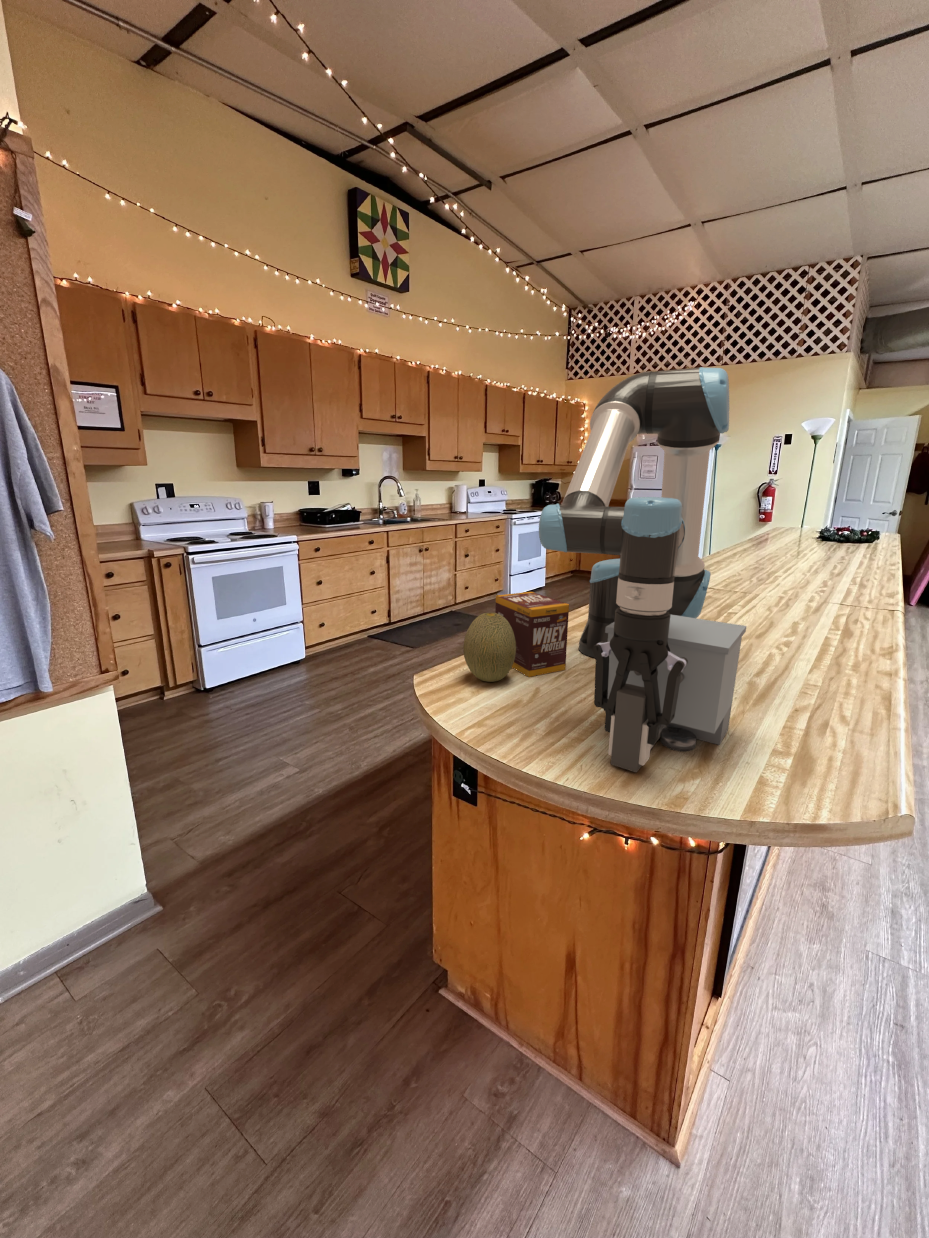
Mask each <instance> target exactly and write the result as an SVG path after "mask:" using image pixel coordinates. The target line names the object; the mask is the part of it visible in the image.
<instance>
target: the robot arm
mask: <svg viewBox="0 0 929 1238" xmlns="http://www.w3.org/2000/svg"><path fill="white" fill-rule="evenodd" d="M589 429H590V433H589V435H588V438H587V441H586V443H585V446H584V448H583V451H582V452H581V455H580V458H579V460H578V463H577V465H576V467H575V470H574V473H573V475H572V478H571V481H570V482H569V485H568V488H567V490H566V492H565V495H564V497H563V500H562V502H561V504H559V503H556V504H548V505H546V506H545V507H543V509H542V510H541V513H540V517H539V520H538V521H539V523H538V536H539V541H540V544H541V546H542V547H543V548H544V549H545V550H549V551H550V550H551V551H556V552H563V553H579V554H581V553H583V554H599V555H612V556H619V558H613V559H612V558H610V559H606V560H605V559H604V560H602V561H601V560H600V561H599V562H596V563H595V564H593V566H592V567H591V574H590V579H589V584H590V585H589V598H588V616H587V621H586V624H585V626H584V629H583V630H582V633H581V635H580V638H579V642H578V650H579V651H580V652H581V653H582V654H583V655H585V656H588V657H591V658H594V659H595V670H594V672H595V673H594V693H593V694H594V696H593V704H594V706H595V707H596V708H599V709H602V710H603V711H604V712H605V718H604V731H605V732H606V733H609V740H608V741H609V742H608V754H607V755H609V756H611V754H612V743H613V731H614V720H615V709H616V697H617V691H618V690H620V689H621V688H622V687H624V686H625V684H626V681H627V678H628V675H629V672H630V671H637V672H639V673H641V674H642V680H643V682H644V690H645V696H646V707H647V716H648V719H647V720H646V721H645V722H644V723H643V726H642V735H641V745H640V755H639V764H640V765H642V766H644V765H646V763H647V762H648V761H649V759H650V758H651V757H650V756H651V749H652V748H651V745H654V746H655V744H656V743H657V741H659V739H658V737H659V728H660V725H661V724H663V725H669V724H670V722H671V721H672V720H673V719H674V717H675V711H676V704H677V698H678V692H679V686H680V680H681V673H682V671H683V670H684V668H685V667H686V665H687V663H688V660H687V659H686V658H685V657H682V658H679V657H677V656H676V655H674V654H672V653H671V652H670V648H669V645H668V634H669V625H670V616H671V615H677V616H684V617H690V618H697V619H698V617H699V616H701V613H702V610H703V607H704V604H705V600H706V596H707V593H708V588H709V584H710V579H711V571H710V570H708V569H705V566H706V565H705V562H704V560H703V559H702V558H701V557H699V553H700V543H701V534H702V525H703V515H704V506H705V497H706V489H707V481H708V479H707V477H708V471H709V470H708V469H709V460H710V453H711V450H712V449H713V448H714V447H715V446H716V445H717V444H718V443H719V442H720V440H721V439H720V438H721V434H722V435H723V434H725V433H727V432H728V431H729V429H730V383H729V374H728V372H727V371H726V370H725V369H724V368H722V367H702V366H700V367H691V368H679V369H677V368H676V369H668V370H659V371H657V370H656V371H652V370H650V371H649V370H648V371H643V372H638V373H636V374H632V375H631V376H628V377H627V378H625V379H623V380H621V381H620V382H618V383H617V384H615V385H614V386H613V387H612V388H611V389H609V391H607V393H605V395H604V396H602V398H601V399H600V400H599V402H598V403H597V405H596V406H595V408H594V410H593V412H592V414H591V417H590V420H589ZM642 434H644V435H645V434H648V435H649V434H650V435H657V442H656V443H657V446H658V447H660V448H661V450H663V451H664V453H663V454H664V455H663V469H662V481H661V483H662V484H661V495H660V497H656V496H655V497H654V496H653V497H652V496H647V497H646V496H640V497H639V496H638V497H631V498H629V499H628V500H626V501H625V504H624V506H609V505H610V501H611V500H612V496H613V493H614V490H615V487H616V484H617V481H618V477H619V474H620V472H621V468H622V465H623V462H624V459H625V457H626V453H627V450H628V447H629V444H630V443H631V442H632V441H634V439H635V438H636V437H637V436H638V435H642ZM613 622H614V635H613V637H612V639H611V640H610V642H608V633H605V628H606V626H608V625H610V624H611V623H613ZM611 649H612V651H613V653H614V655H615V656H616V658H617V660H618V662H619V663H618V666H617V669H616V676H615V679H614V682H613V685H612V688H611V692H610V695H609V698H608V678H609V655H610V654H611ZM664 660H666V661H667V663H668V665H667V668H668V670H670V673H669V675H668V679H667V685H666V692H665V698H664V705H663V711H662V713H661V707H660V698H659V689H658V680H657V675H658V669H657V667H658V666H659V665H660V664H661V663H662V662H663V661H664ZM650 748H651V749H650Z"/></svg>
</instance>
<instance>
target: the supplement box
mask: <svg viewBox="0 0 929 1238" xmlns="http://www.w3.org/2000/svg"><path fill="white" fill-rule="evenodd" d="M569 612H570V603H566V602H562V601H560V600H557V599H555V598H551V597H549V596H545V595H543V594H540V593H536V592H534V591H526V592H525V591H524V592H516V593H507V594H498V595H495V611H494V613H497V614H500V615H502V616H503V617H504V618H505V619H506V620H507V621H508V622H509V624H510V626H511V628H512V630H513V633H514V636H515V641H516V654H515V659H514V663H513V665H512V667H513V668H512V669H514V668H515V669H517V670H518V672H519V671H520V672H522V673H523V675H524V674H525V675H524V676H526V677H527V676H528V677H527V678H530V677H531V678H532V677H536V675H537V676H541V675H546V674H552V673H557V672H561V671H566V665H567V649H568V648H567V647H568V631H569V629H568V628H569ZM515 669H514V670H515ZM517 670H516V671H517ZM520 672H519V673H520ZM522 673H521V674H522Z"/></svg>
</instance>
